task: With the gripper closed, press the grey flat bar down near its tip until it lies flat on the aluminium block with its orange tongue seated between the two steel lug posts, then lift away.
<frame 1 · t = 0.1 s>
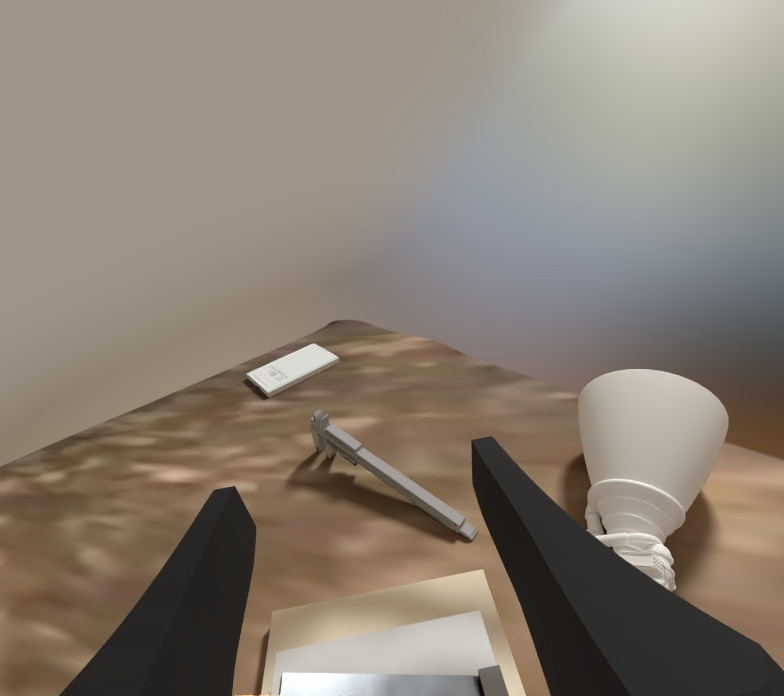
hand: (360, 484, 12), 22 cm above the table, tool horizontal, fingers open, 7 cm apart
external hard drive: (294, 374, 63), on the table
caliper: (385, 488, 40), on the table
rocket engine: (609, 516, 34), on the table
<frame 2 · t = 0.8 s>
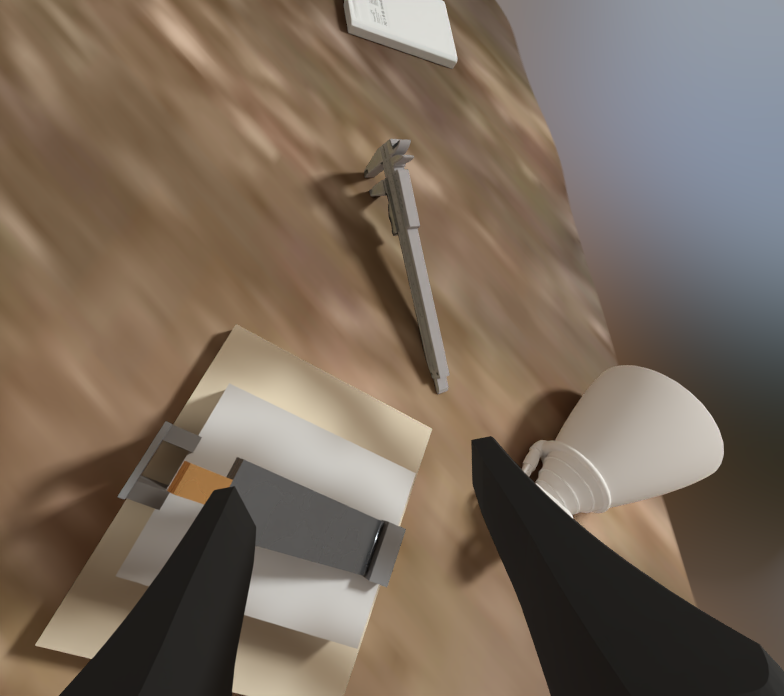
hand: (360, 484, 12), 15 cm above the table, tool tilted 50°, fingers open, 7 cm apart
grey flat bar: (296, 519, 19), point 7 cm above the table, hinge at 25.0°
external hard drive: (394, 26, 42), on the table
caliper: (401, 281, 34), on the table
rocket engine: (542, 452, 37), on the table
base board: (279, 507, 25), on the table
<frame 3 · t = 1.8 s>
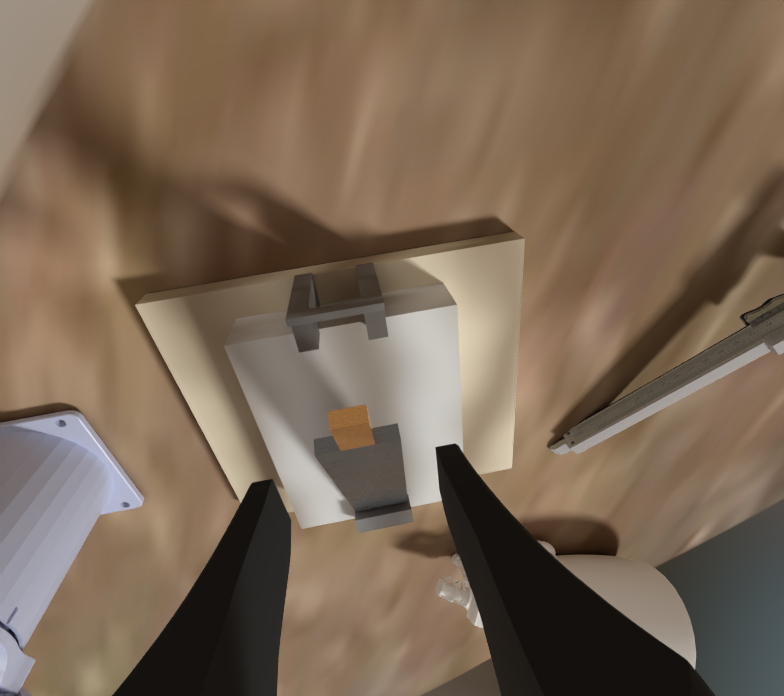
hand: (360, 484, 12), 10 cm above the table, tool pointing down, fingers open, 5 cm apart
grey flat bar: (370, 473, 17), point 7 cm above the table, hinge at 25.0°
caliper: (669, 348, 25), on the table
rocket engine: (540, 544, 36), on the table
base board: (361, 390, 23), on the table
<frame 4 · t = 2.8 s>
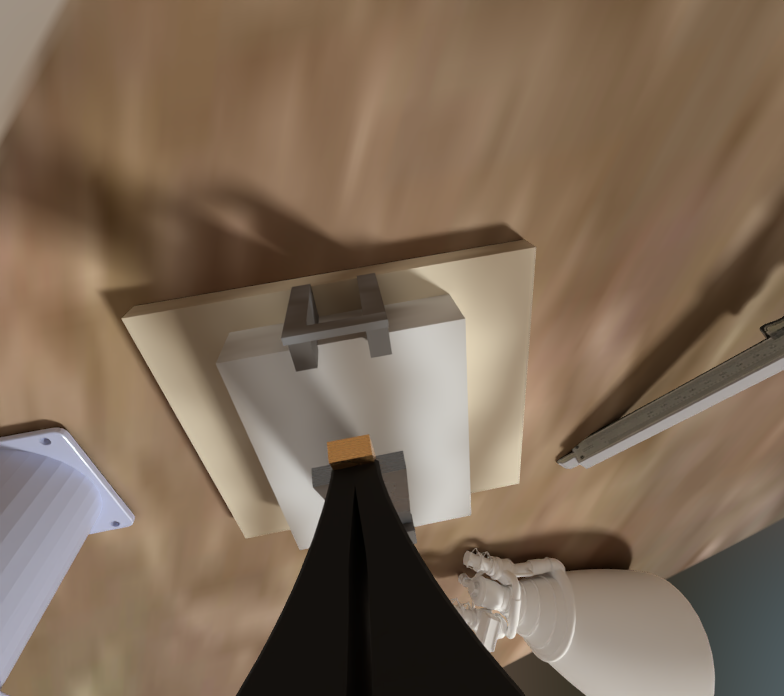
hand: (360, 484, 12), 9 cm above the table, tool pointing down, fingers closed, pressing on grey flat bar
grey flat bar: (372, 498, 16), point 7 cm above the table, hinge at 25.0°, touching gripper
caliper: (683, 359, 24), on the table
rocket engine: (549, 559, 35), on the table
base board: (362, 405, 22), on the table
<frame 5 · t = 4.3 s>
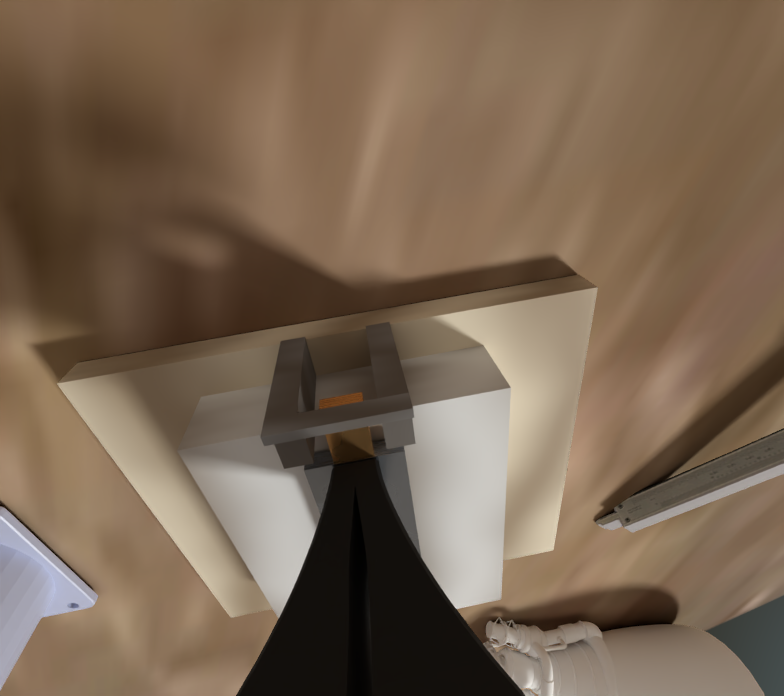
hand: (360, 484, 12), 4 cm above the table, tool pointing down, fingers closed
grey flat bar: (375, 536, 14), point 4 cm above the table, hinge at 0.5°
caliper: (751, 407, 20), on the table
rocket engine: (583, 618, 31), on the table
base board: (370, 468, 18), on the table
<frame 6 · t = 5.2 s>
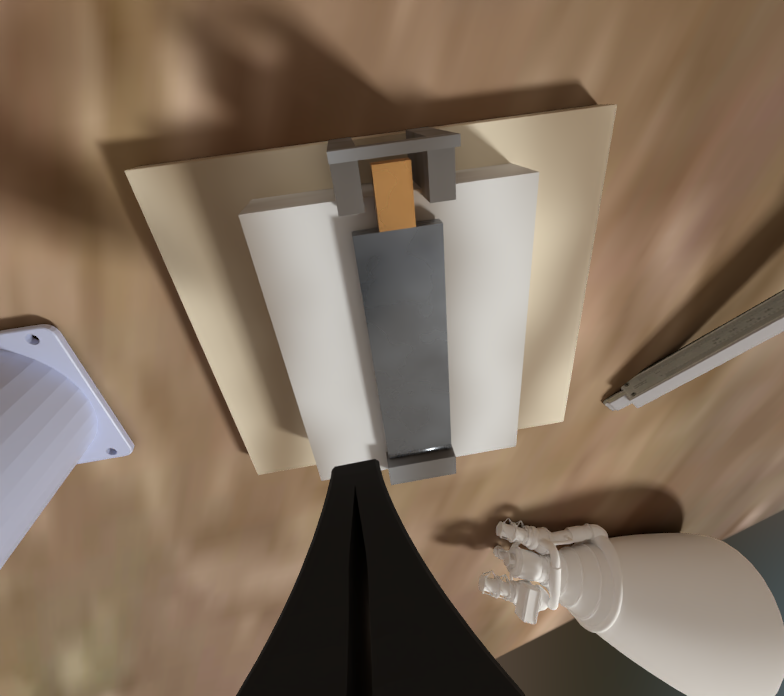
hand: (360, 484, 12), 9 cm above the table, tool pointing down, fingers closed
grey flat bar: (408, 339, 15), point 4 cm above the table, hinge at 0.5°
caliper: (753, 282, 22), on the table
rocket engine: (590, 527, 33), on the table
base board: (396, 316, 19), on the table
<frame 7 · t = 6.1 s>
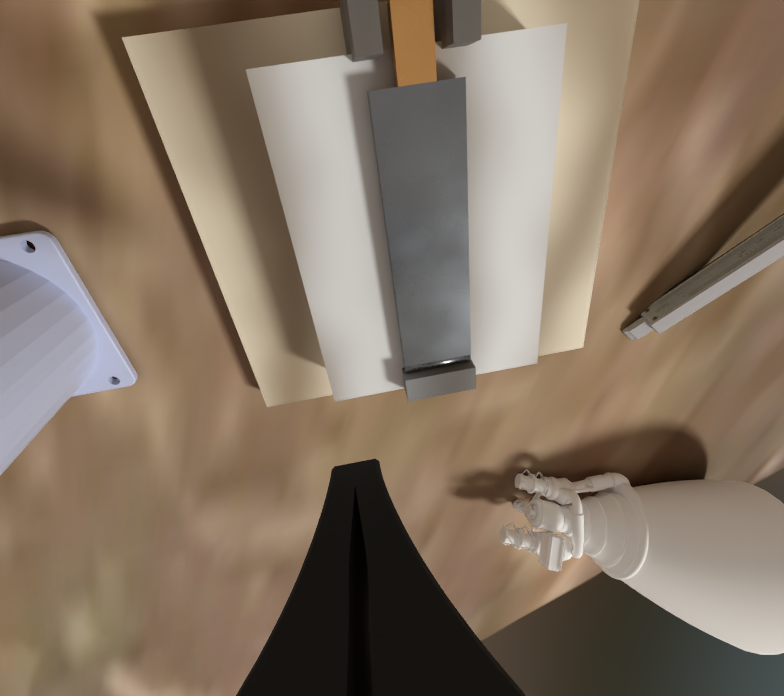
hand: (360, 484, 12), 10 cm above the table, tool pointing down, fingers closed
grey flat bar: (426, 226, 14), point 4 cm above the table, hinge at 0.5°
caliper: (778, 194, 21), on the table
rocket engine: (611, 478, 32), on the table
base board: (409, 227, 18), on the table
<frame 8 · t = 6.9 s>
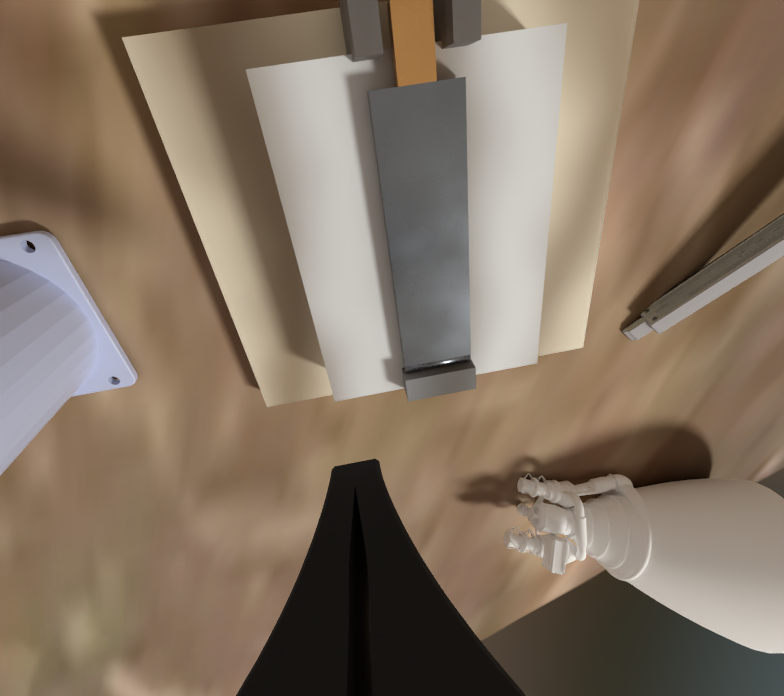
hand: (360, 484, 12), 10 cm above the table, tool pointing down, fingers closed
grey flat bar: (426, 226, 14), point 4 cm above the table, hinge at 0.5°
caliper: (778, 194, 21), on the table
rocket engine: (614, 479, 32), on the table
base board: (409, 227, 18), on the table
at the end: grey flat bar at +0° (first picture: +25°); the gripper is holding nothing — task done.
